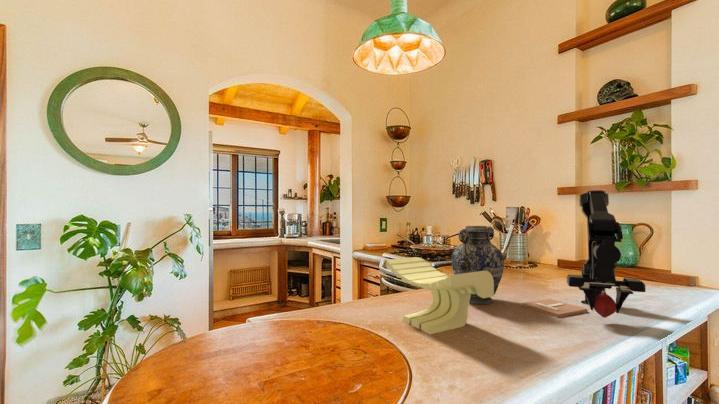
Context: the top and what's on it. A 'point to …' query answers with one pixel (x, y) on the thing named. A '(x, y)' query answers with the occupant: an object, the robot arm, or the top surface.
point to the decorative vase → (478, 257)
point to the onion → (604, 305)
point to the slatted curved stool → (441, 293)
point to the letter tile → (554, 307)
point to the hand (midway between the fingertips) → (604, 311)
